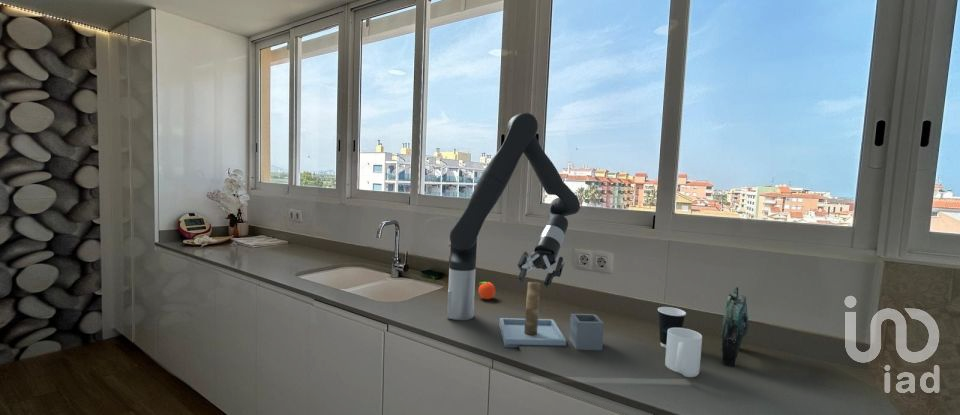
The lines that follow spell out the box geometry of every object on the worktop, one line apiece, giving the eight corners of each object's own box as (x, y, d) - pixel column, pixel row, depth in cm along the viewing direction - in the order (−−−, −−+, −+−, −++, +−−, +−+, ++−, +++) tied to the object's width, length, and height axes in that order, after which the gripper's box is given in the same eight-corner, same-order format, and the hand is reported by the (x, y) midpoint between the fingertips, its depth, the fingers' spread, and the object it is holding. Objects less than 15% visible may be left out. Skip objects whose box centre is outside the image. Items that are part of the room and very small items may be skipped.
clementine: (474, 300, 167) (474, 282, 166) (477, 295, 173) (477, 278, 173) (493, 302, 165) (494, 284, 165) (496, 297, 172) (496, 280, 172)
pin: (525, 335, 129) (528, 284, 128) (523, 330, 133) (526, 281, 132) (538, 335, 129) (541, 284, 128) (535, 330, 133) (539, 281, 132)
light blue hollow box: (575, 353, 120) (577, 322, 119) (569, 342, 127) (570, 313, 127) (601, 353, 120) (603, 323, 120) (593, 343, 128) (595, 314, 127)
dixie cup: (662, 350, 124) (665, 314, 123) (650, 340, 132) (653, 306, 131) (688, 351, 124) (691, 315, 123) (675, 341, 132) (677, 307, 131)
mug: (695, 387, 103) (698, 346, 102) (659, 377, 107) (662, 337, 106) (700, 369, 112) (704, 332, 112) (667, 361, 117) (670, 325, 116)
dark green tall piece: (723, 342, 133) (728, 280, 131) (747, 348, 129) (753, 284, 127) (715, 363, 117) (721, 293, 115) (742, 370, 113) (749, 298, 111)
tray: (504, 347, 122) (505, 339, 122) (499, 325, 140) (499, 318, 139) (565, 348, 123) (566, 340, 122) (552, 326, 140) (553, 319, 140)
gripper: (527, 232, 140) (509, 272, 131) (567, 237, 132) (551, 280, 123) (533, 246, 145) (516, 285, 136) (572, 252, 137) (557, 293, 128)
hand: (533, 282), depth 130 cm, fingers open, 8 cm apart
